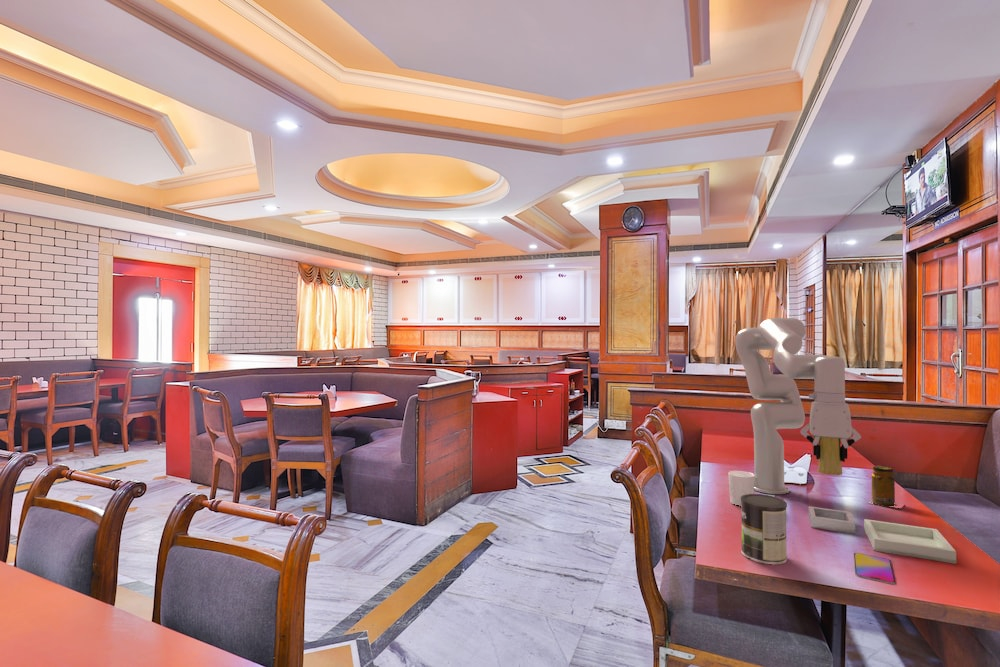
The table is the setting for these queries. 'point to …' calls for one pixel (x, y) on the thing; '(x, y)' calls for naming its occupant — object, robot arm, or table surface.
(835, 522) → the white square dish
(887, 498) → the condiment
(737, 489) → the white cup
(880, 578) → the smartphone
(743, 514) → the coffee can
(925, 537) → the beige tray
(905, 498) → the table surface
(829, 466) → the vase
